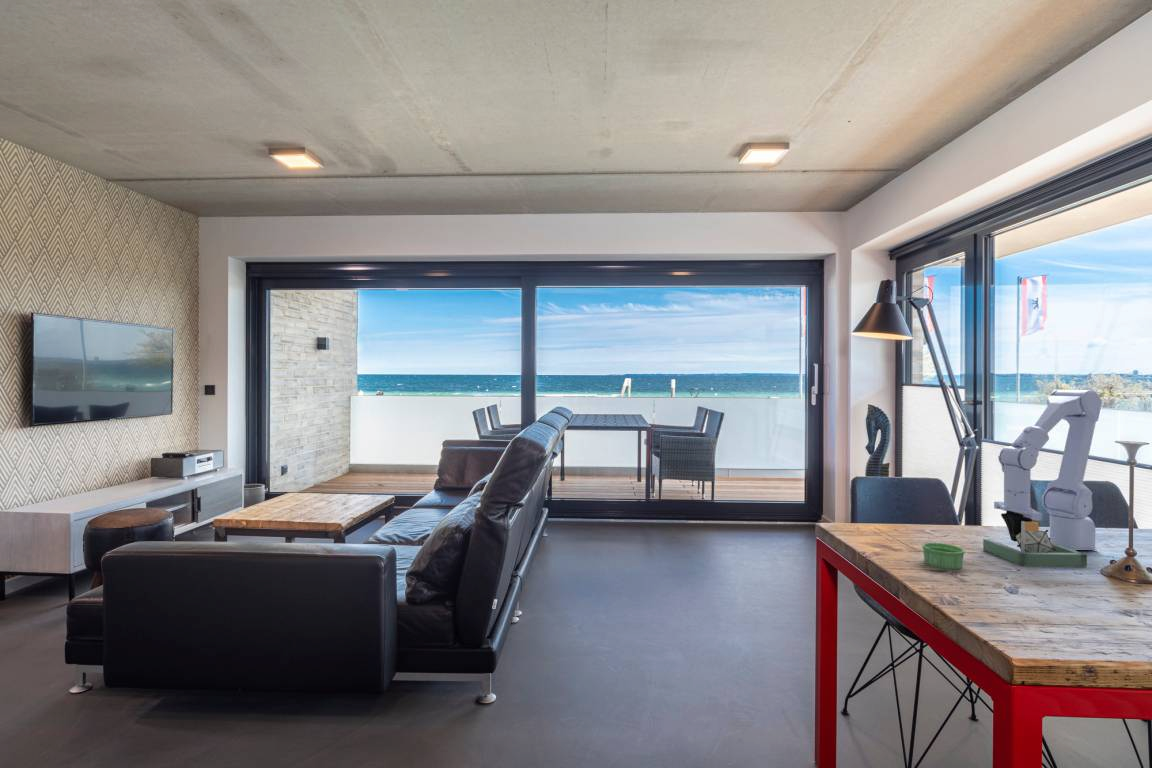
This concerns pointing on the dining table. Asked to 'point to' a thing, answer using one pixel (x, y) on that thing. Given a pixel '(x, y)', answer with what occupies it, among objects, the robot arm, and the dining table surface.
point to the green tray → (1023, 558)
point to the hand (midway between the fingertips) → (1016, 540)
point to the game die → (1035, 541)
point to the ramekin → (943, 555)
